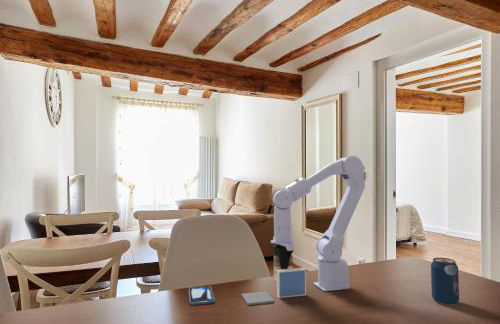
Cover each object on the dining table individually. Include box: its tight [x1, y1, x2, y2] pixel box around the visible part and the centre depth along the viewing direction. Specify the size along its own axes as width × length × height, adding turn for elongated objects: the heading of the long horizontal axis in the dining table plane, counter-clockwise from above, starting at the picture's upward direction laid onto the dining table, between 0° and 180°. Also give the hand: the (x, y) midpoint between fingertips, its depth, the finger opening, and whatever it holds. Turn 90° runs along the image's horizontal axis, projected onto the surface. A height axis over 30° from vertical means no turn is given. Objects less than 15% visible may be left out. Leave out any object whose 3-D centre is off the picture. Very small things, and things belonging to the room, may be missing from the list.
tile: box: [276, 267, 307, 299], centre depth 104 cm, size 9×2×8 cm, turn 105°
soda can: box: [430, 257, 460, 306], centre depth 98 cm, size 7×7×12 cm
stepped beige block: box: [273, 254, 294, 281], centre depth 111 cm, size 6×2×8 cm, turn 105°
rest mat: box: [240, 291, 275, 306], centre depth 101 cm, size 8×8×1 cm
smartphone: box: [188, 285, 216, 306], centre depth 104 cm, size 7×1×15 cm
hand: (283, 268), depth 111 cm, fingers closed on stepped beige block, 2 cm apart
